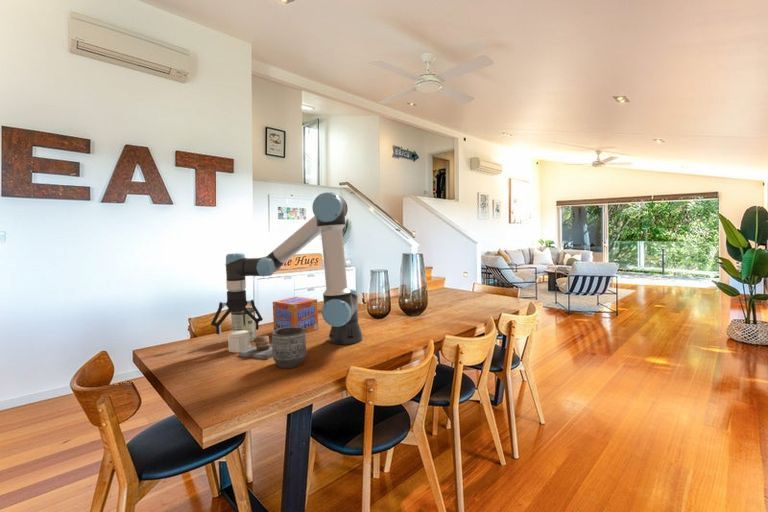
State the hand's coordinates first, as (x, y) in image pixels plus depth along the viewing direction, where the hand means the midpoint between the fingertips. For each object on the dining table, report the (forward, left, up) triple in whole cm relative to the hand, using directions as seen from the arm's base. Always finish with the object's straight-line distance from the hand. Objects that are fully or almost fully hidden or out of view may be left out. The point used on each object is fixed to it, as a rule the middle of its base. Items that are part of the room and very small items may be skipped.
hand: (238, 339), depth 158 cm
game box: (-7, -32, -5) cm, 33 cm away
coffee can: (+8, -12, -5) cm, 15 cm away
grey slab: (-13, +1, -4) cm, 14 cm away
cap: (0, 0, -4) cm, 4 cm away
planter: (-32, +9, -5) cm, 34 cm away
